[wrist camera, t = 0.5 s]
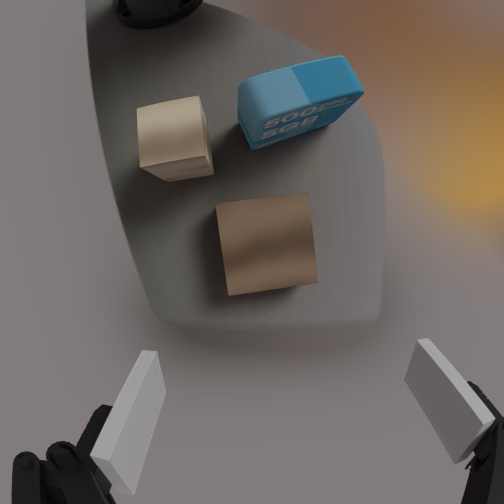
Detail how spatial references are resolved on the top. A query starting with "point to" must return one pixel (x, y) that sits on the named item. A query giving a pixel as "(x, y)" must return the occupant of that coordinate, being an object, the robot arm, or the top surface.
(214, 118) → the top surface
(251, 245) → the block
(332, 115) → the data package
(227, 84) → the top surface
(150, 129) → the birch block
